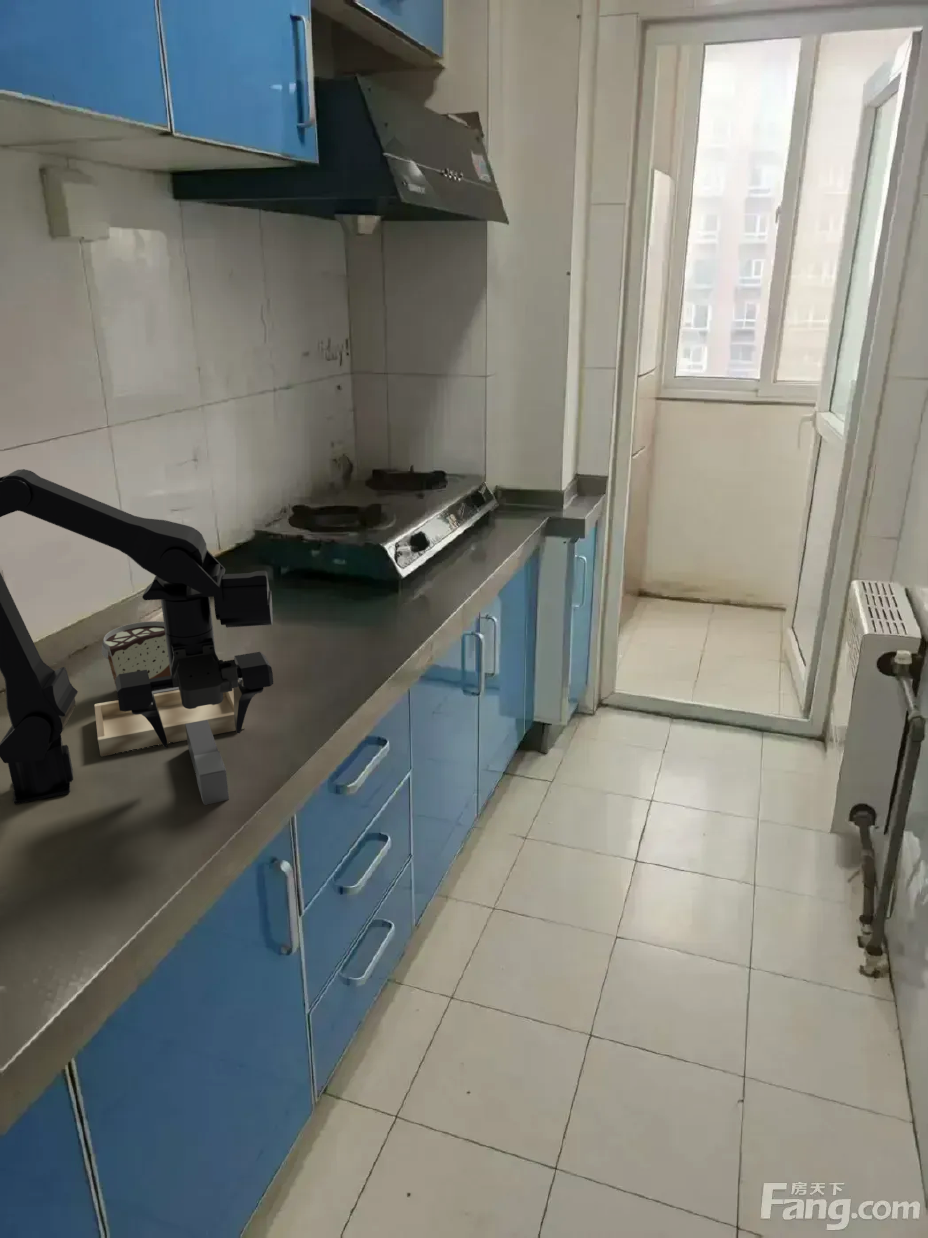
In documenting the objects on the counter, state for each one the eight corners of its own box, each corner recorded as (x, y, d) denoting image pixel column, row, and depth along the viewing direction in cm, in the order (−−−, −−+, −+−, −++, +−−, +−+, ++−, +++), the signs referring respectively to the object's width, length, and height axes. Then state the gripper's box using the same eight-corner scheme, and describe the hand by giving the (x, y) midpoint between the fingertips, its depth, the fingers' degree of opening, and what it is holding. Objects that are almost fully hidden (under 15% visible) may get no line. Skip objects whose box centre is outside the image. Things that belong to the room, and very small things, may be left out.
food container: (163, 669, 144) (155, 614, 140) (184, 679, 140) (177, 623, 137) (94, 694, 135) (84, 636, 131) (114, 706, 131) (105, 646, 128)
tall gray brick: (229, 799, 108) (226, 771, 106) (203, 805, 107) (200, 777, 105) (211, 744, 121) (208, 719, 119) (187, 749, 119) (184, 723, 118)
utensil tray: (100, 756, 117) (97, 739, 116) (97, 719, 127) (94, 704, 126) (244, 728, 125) (243, 713, 124) (230, 696, 135) (229, 681, 134)
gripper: (112, 666, 96) (131, 785, 101) (278, 640, 103) (287, 753, 108) (107, 631, 105) (125, 742, 111) (259, 610, 112) (268, 715, 118)
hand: (202, 739), depth 112 cm, fingers open, 9 cm apart
